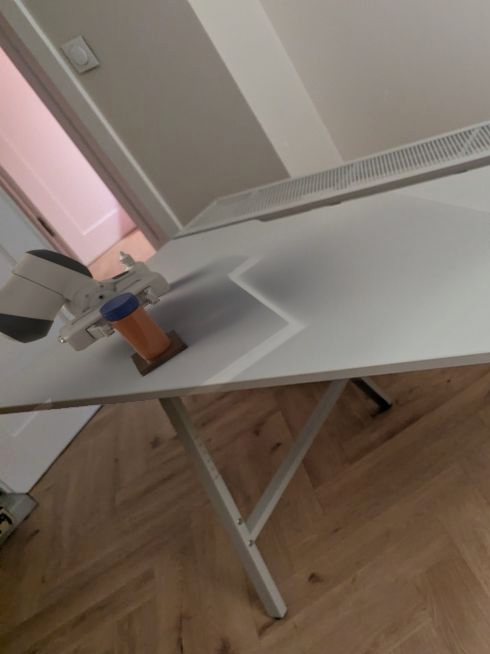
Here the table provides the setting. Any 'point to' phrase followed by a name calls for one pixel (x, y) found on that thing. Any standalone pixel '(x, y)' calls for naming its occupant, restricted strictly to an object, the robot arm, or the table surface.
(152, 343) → the jar
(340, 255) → the table surface
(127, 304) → the lid
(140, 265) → the eye dropper bottle
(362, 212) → the table surface
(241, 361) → the table surface
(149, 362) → the board
